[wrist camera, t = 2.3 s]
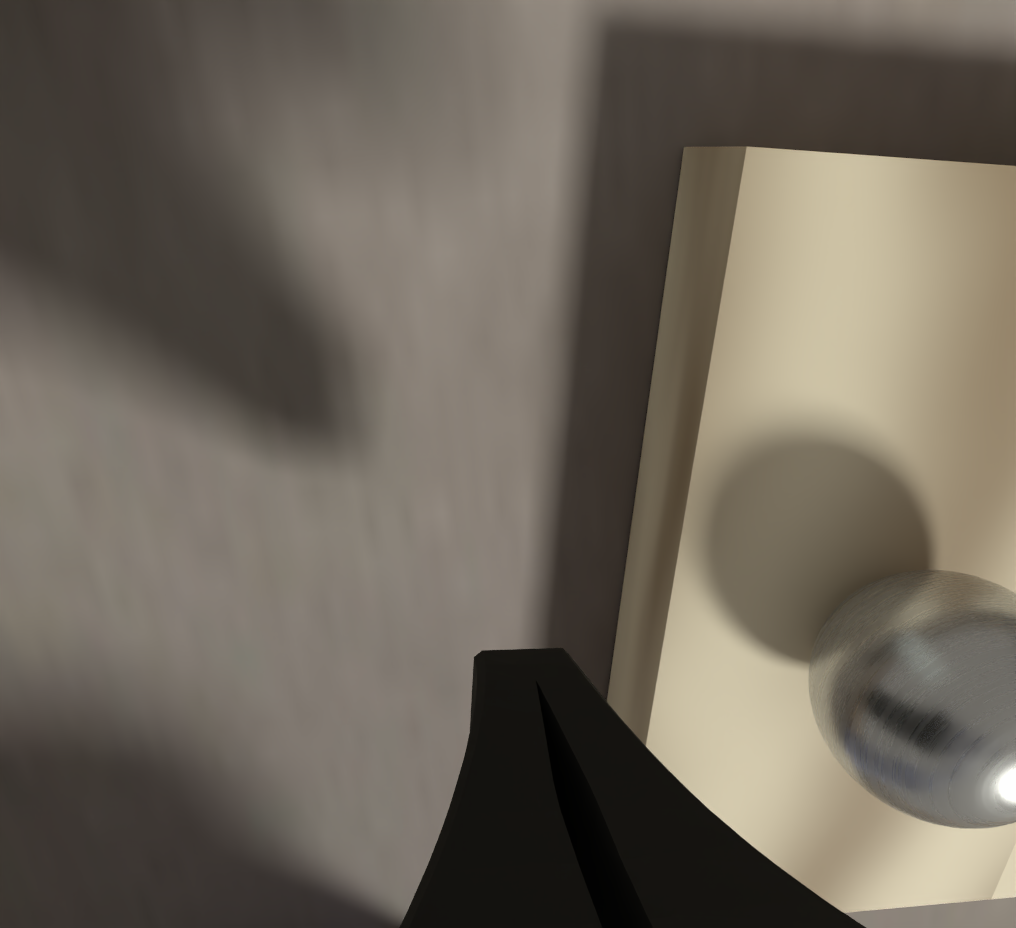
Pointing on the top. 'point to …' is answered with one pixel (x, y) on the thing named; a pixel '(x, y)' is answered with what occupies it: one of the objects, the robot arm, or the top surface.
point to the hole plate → (816, 485)
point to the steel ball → (923, 695)
